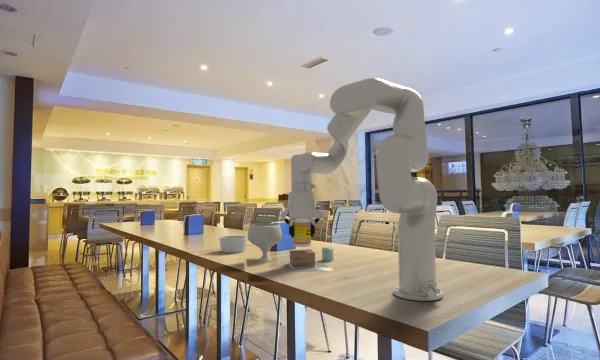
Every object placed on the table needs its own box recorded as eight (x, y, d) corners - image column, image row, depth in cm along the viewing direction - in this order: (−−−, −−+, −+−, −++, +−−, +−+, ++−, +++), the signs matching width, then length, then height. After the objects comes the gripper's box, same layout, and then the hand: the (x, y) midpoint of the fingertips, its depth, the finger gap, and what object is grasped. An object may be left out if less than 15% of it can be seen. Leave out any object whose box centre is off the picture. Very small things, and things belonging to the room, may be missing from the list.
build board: (335, 274, 118) (335, 271, 118) (295, 276, 116) (295, 273, 116) (323, 264, 135) (323, 261, 135) (288, 266, 133) (288, 262, 133)
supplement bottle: (307, 247, 125) (307, 211, 125) (290, 246, 127) (290, 211, 127) (313, 244, 131) (312, 210, 131) (296, 244, 133) (296, 210, 134)
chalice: (281, 265, 134) (281, 226, 135) (245, 265, 134) (244, 226, 135) (283, 258, 148) (282, 223, 149) (250, 259, 148) (250, 223, 149)
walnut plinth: (315, 266, 125) (315, 252, 125) (293, 267, 124) (292, 253, 124) (310, 262, 133) (310, 249, 133) (289, 263, 132) (289, 250, 132)
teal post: (334, 264, 136) (334, 248, 136) (323, 264, 135) (323, 249, 135) (331, 262, 140) (331, 246, 140) (321, 262, 139) (320, 247, 139)
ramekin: (238, 248, 178) (238, 234, 178) (252, 251, 168) (252, 236, 168) (214, 251, 169) (214, 236, 170) (227, 254, 159) (227, 239, 159)
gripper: (321, 188, 135) (322, 234, 134) (277, 188, 132) (277, 236, 131) (326, 187, 127) (327, 237, 127) (279, 188, 124) (279, 238, 124)
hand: (301, 236), depth 129 cm, fingers closed on supplement bottle, 6 cm apart
